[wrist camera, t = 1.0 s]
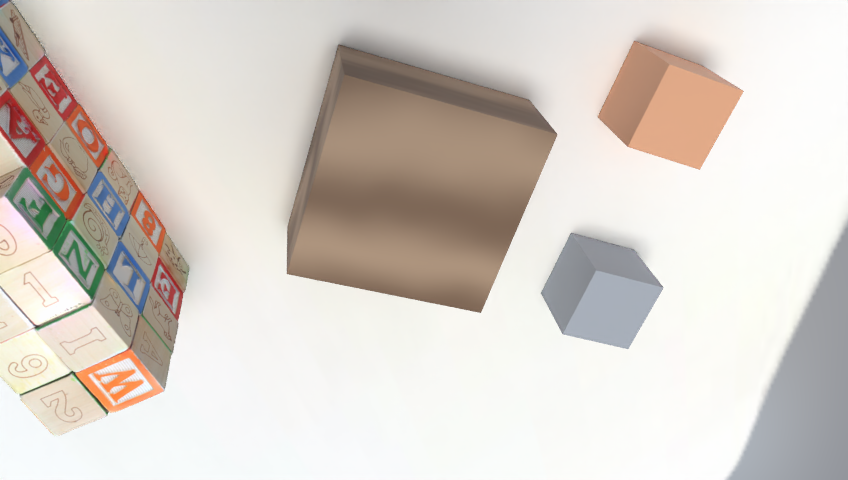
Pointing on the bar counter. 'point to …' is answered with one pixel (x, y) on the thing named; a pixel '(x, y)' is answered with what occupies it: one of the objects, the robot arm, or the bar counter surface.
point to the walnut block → (414, 182)
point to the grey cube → (600, 291)
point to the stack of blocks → (75, 253)
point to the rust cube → (668, 106)
